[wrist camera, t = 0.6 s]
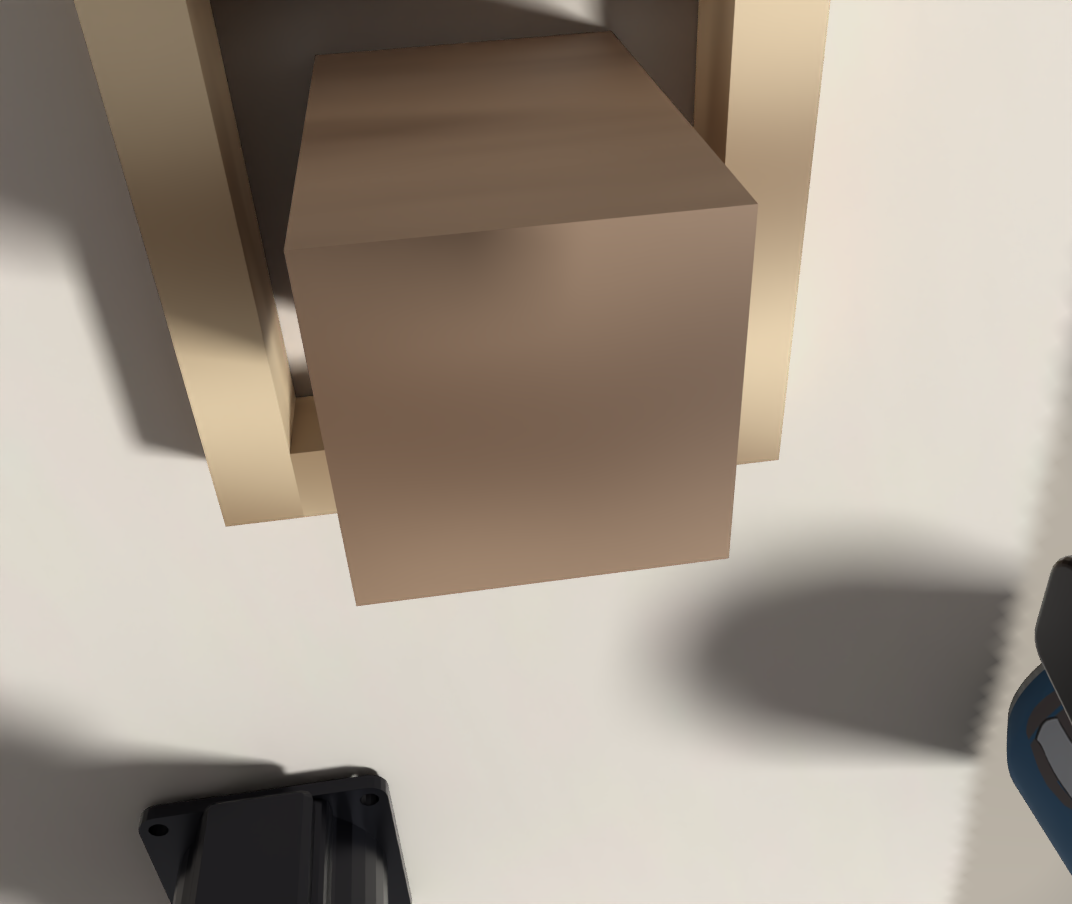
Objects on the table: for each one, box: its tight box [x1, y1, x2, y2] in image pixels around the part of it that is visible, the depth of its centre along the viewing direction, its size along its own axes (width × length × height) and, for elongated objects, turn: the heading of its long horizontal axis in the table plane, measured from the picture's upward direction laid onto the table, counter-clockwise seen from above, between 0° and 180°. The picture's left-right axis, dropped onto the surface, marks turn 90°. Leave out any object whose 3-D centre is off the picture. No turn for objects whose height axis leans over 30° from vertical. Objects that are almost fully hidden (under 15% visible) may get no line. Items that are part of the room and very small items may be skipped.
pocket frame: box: [74, 0, 830, 526], centre depth 18 cm, size 11×11×2 cm
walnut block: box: [284, 31, 758, 606], centre depth 15 cm, size 5×5×8 cm
